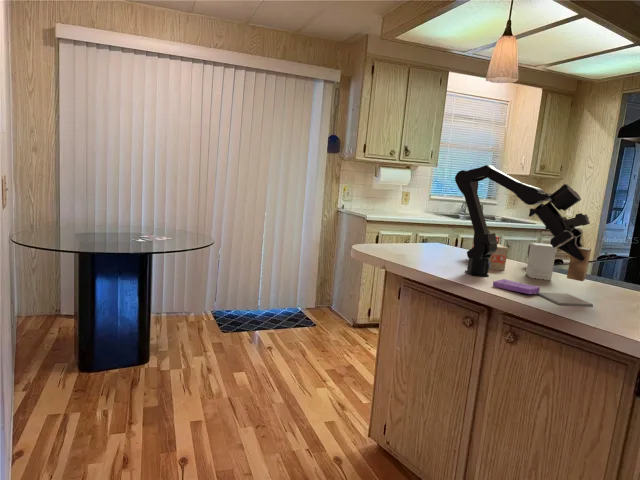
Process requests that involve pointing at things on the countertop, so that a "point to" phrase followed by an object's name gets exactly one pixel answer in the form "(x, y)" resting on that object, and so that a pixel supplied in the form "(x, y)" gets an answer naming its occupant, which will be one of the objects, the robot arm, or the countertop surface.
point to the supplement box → (541, 261)
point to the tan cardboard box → (498, 257)
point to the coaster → (564, 299)
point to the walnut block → (579, 265)
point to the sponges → (516, 286)
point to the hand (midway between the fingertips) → (584, 259)
